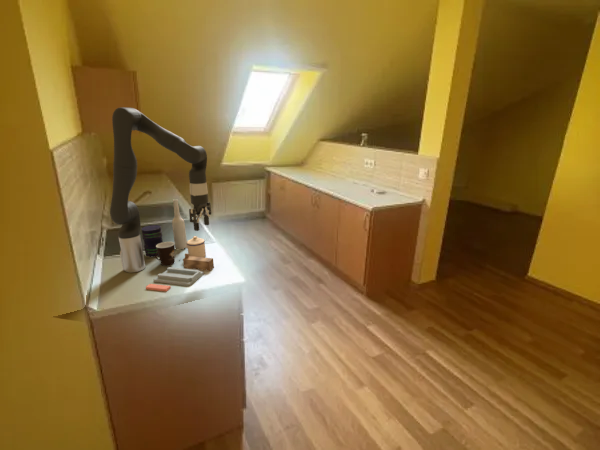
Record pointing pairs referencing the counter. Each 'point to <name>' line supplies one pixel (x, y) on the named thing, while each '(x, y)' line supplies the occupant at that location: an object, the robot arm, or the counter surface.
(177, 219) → the bottle
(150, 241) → the storage jar
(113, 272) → the counter surface
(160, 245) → the coffee mug
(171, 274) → the cradle jig
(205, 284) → the counter surface
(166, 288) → the salmon pink bar
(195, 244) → the teacup with lid
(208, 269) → the plank with peg
